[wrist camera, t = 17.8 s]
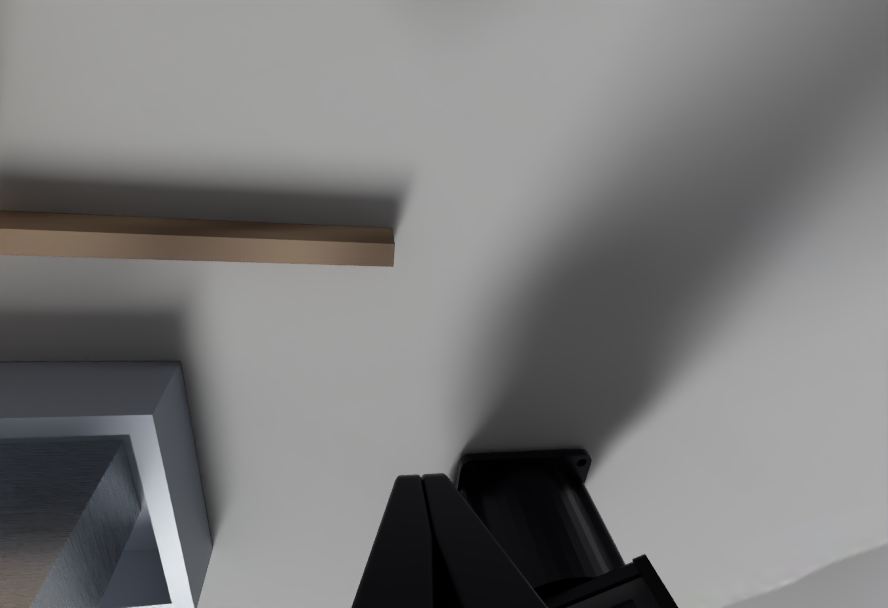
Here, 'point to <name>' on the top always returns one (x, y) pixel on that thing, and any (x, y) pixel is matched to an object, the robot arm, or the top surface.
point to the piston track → (192, 239)
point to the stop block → (63, 521)
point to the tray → (150, 457)
